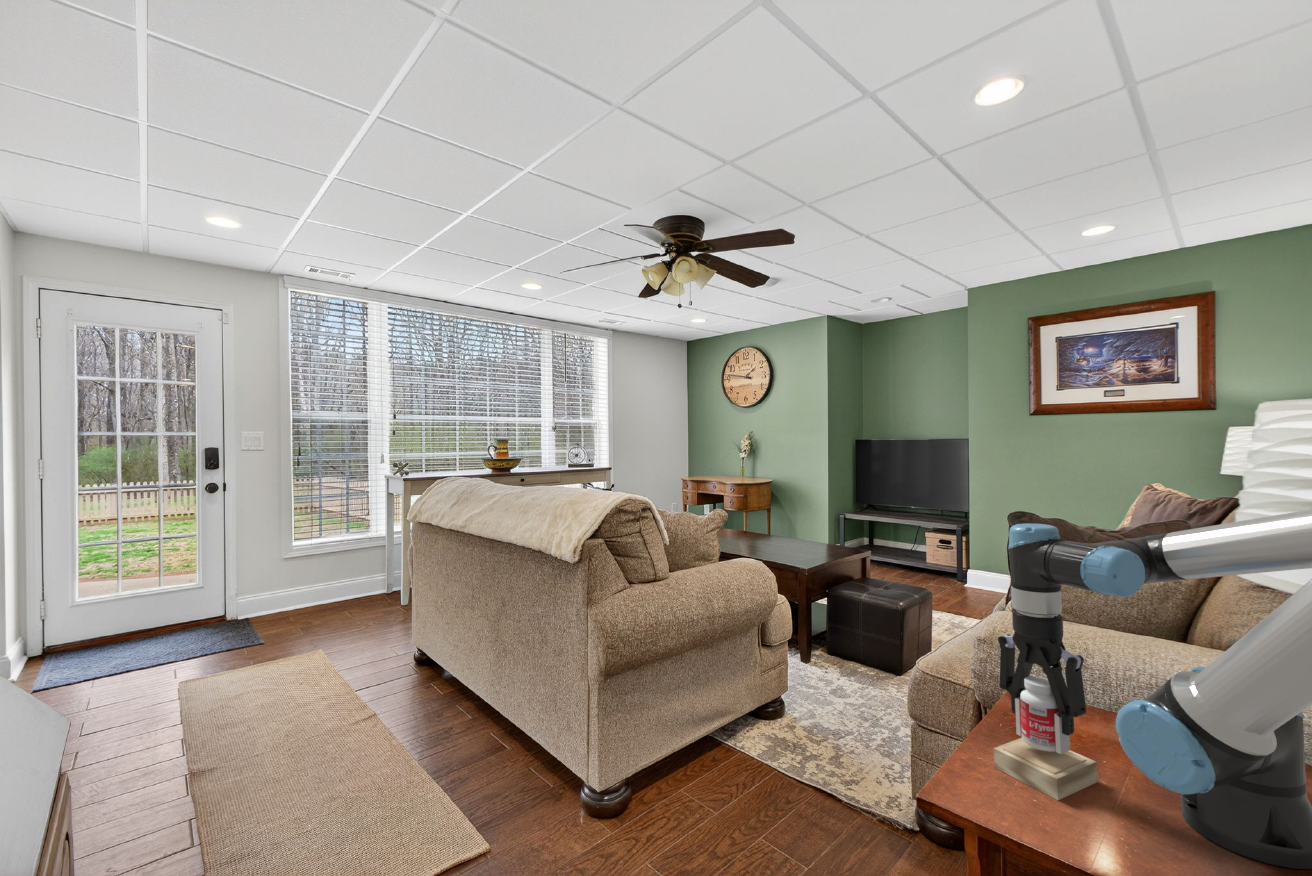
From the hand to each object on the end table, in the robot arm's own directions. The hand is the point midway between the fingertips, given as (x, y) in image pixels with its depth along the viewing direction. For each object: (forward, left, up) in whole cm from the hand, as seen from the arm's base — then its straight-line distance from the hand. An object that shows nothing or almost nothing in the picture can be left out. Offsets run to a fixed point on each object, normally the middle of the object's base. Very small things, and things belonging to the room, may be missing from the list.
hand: (1042, 741), depth 101 cm
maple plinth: (0, 0, -6) cm, 6 cm away
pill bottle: (0, 0, -1) cm, 1 cm away
